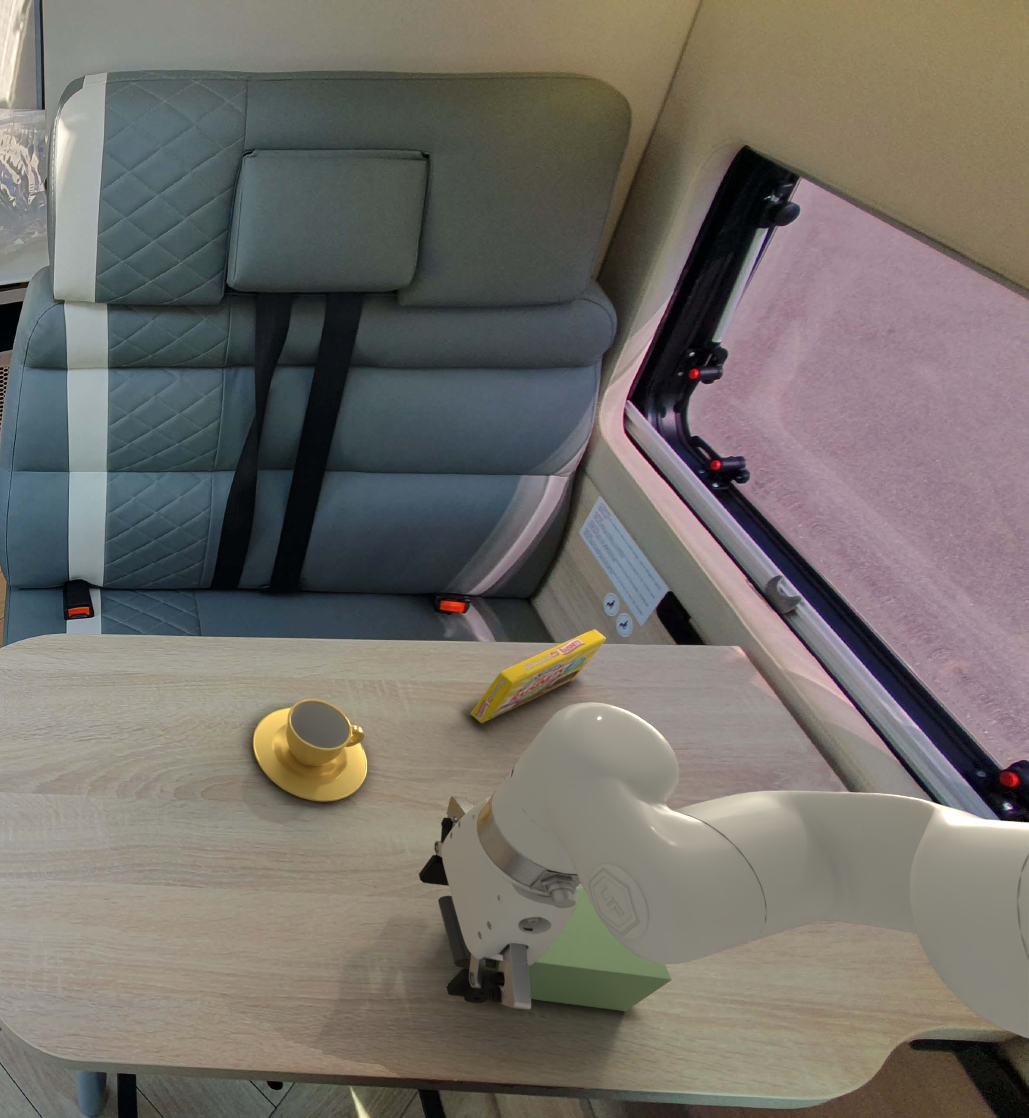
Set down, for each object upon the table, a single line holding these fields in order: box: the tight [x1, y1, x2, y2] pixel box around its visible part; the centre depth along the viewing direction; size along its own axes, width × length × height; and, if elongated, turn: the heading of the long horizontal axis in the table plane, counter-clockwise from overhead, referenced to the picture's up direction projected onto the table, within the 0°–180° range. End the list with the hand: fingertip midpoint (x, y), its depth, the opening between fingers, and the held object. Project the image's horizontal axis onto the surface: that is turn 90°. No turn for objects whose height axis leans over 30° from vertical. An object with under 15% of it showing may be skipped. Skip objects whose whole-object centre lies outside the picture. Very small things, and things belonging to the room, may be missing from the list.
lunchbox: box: [437, 887, 673, 1012], centre depth 69 cm, size 7×8×15 cm
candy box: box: [470, 628, 607, 724], centre depth 91 cm, size 15×2×8 cm, turn 116°
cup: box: [252, 698, 368, 802], centre depth 85 cm, size 12×12×5 cm
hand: (450, 934), depth 70 cm, fingers open, 9 cm apart
